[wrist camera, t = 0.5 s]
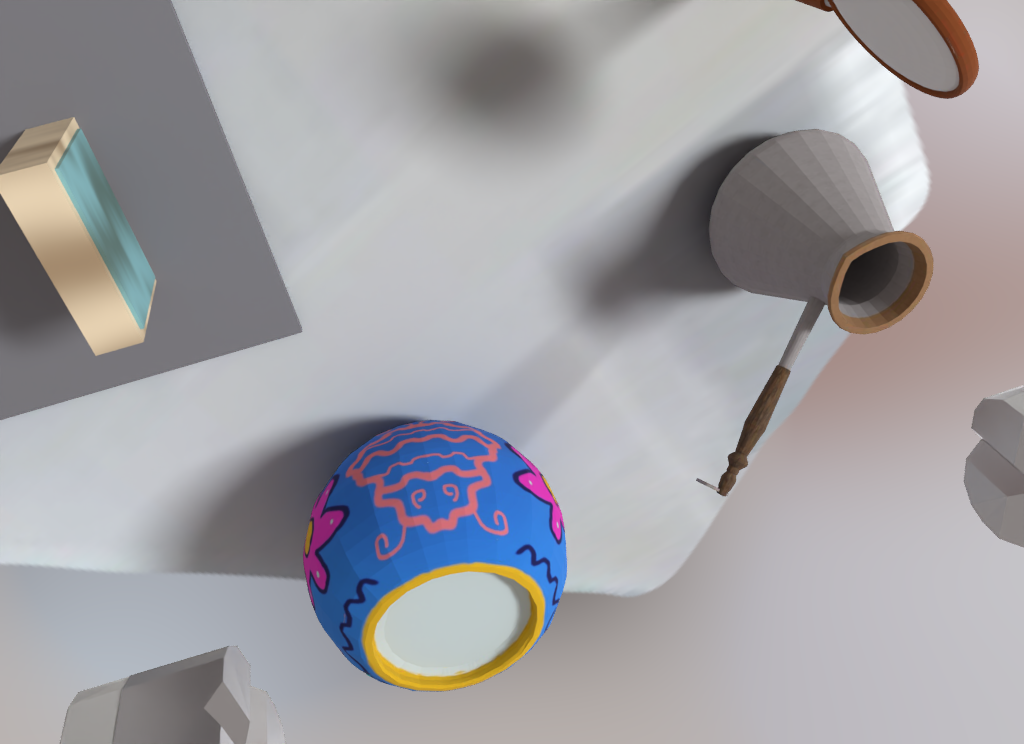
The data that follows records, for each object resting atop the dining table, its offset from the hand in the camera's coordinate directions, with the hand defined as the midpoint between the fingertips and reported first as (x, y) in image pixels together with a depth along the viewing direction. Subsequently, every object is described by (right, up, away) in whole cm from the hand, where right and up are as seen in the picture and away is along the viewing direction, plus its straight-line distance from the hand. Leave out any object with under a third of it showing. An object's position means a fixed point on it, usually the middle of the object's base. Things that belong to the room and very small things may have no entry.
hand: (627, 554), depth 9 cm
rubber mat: (-28, +10, +38) cm, 48 cm away
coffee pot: (+14, +10, +51) cm, 53 cm away
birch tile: (-24, +11, +38) cm, 46 cm away
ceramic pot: (-8, -6, +55) cm, 56 cm away
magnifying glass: (+11, +25, +39) cm, 48 cm away
